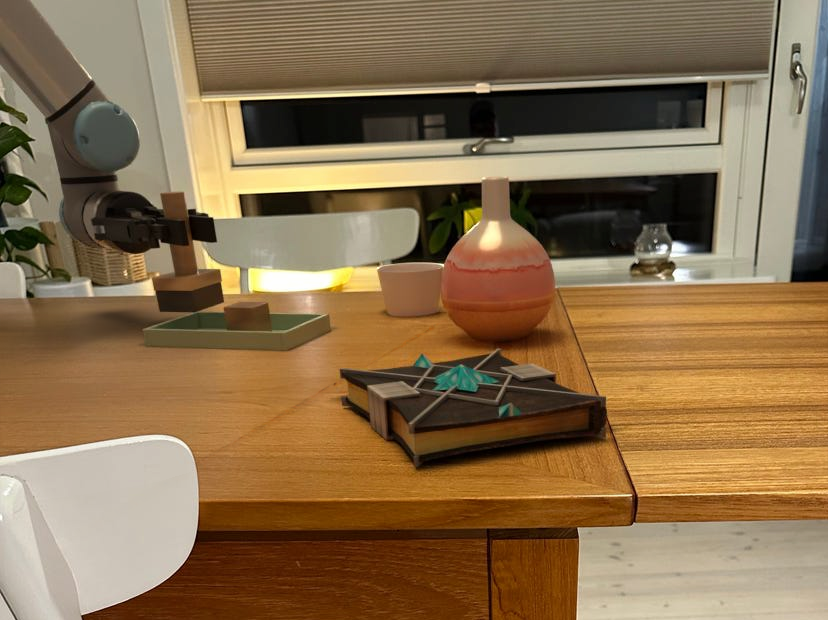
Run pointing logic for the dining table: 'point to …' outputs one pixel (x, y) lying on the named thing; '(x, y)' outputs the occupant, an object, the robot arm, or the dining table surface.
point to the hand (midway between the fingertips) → (198, 231)
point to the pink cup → (411, 288)
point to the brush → (185, 269)
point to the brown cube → (248, 316)
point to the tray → (236, 332)
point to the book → (471, 405)
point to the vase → (497, 274)
